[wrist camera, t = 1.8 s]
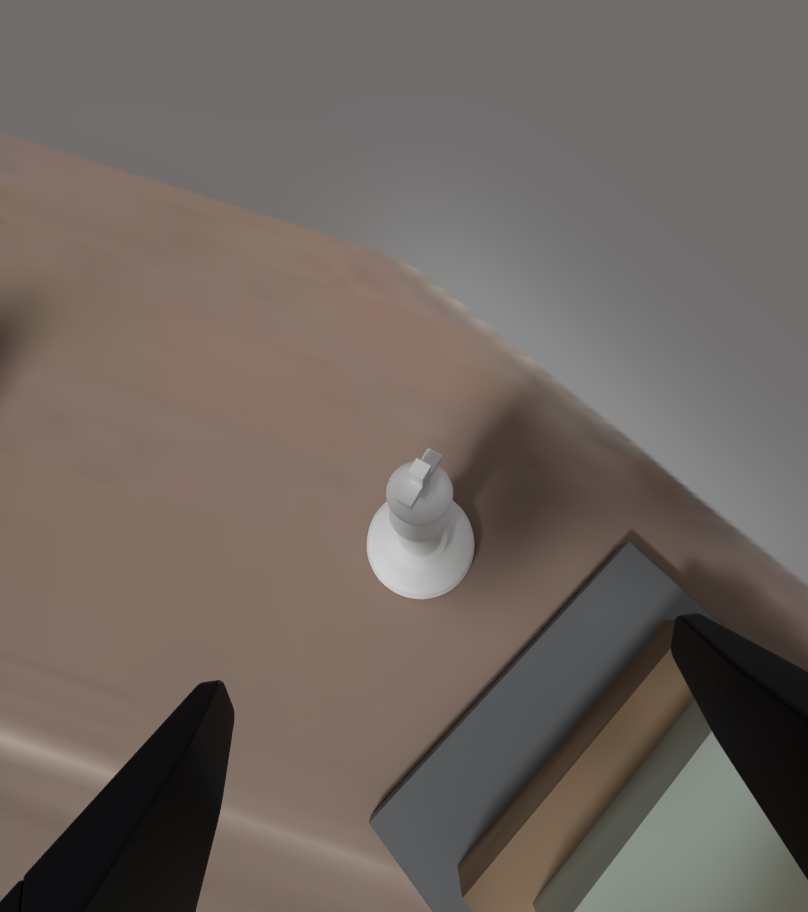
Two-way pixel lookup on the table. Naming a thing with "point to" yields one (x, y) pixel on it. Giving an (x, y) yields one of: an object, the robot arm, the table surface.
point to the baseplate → (523, 722)
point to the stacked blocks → (635, 816)
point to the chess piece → (420, 532)
